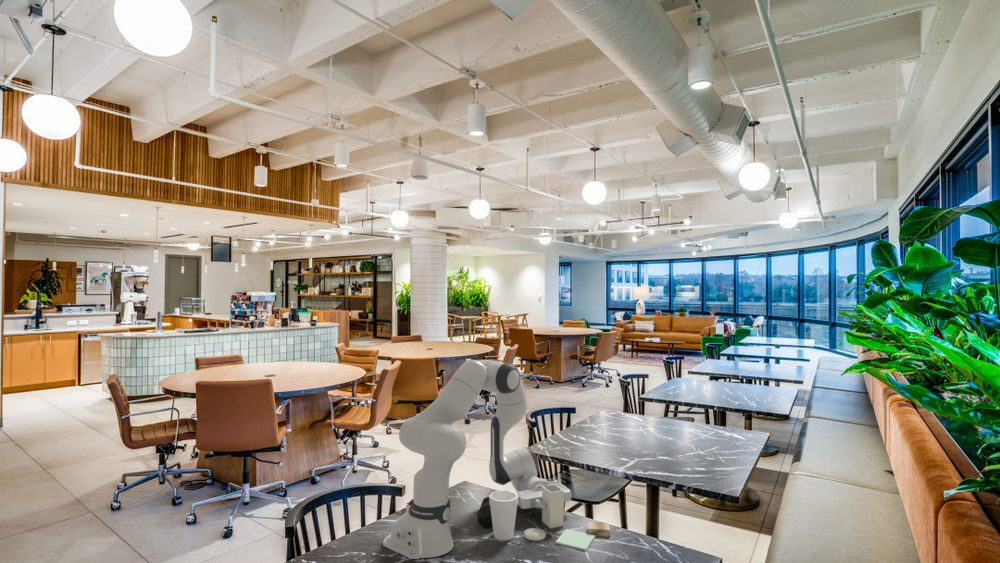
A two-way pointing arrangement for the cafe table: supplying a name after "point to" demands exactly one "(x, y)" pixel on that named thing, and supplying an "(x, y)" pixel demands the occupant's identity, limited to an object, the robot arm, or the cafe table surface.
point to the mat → (575, 539)
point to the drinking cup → (485, 514)
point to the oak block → (599, 529)
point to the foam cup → (503, 513)
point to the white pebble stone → (534, 534)
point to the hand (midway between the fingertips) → (553, 505)
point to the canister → (553, 506)
